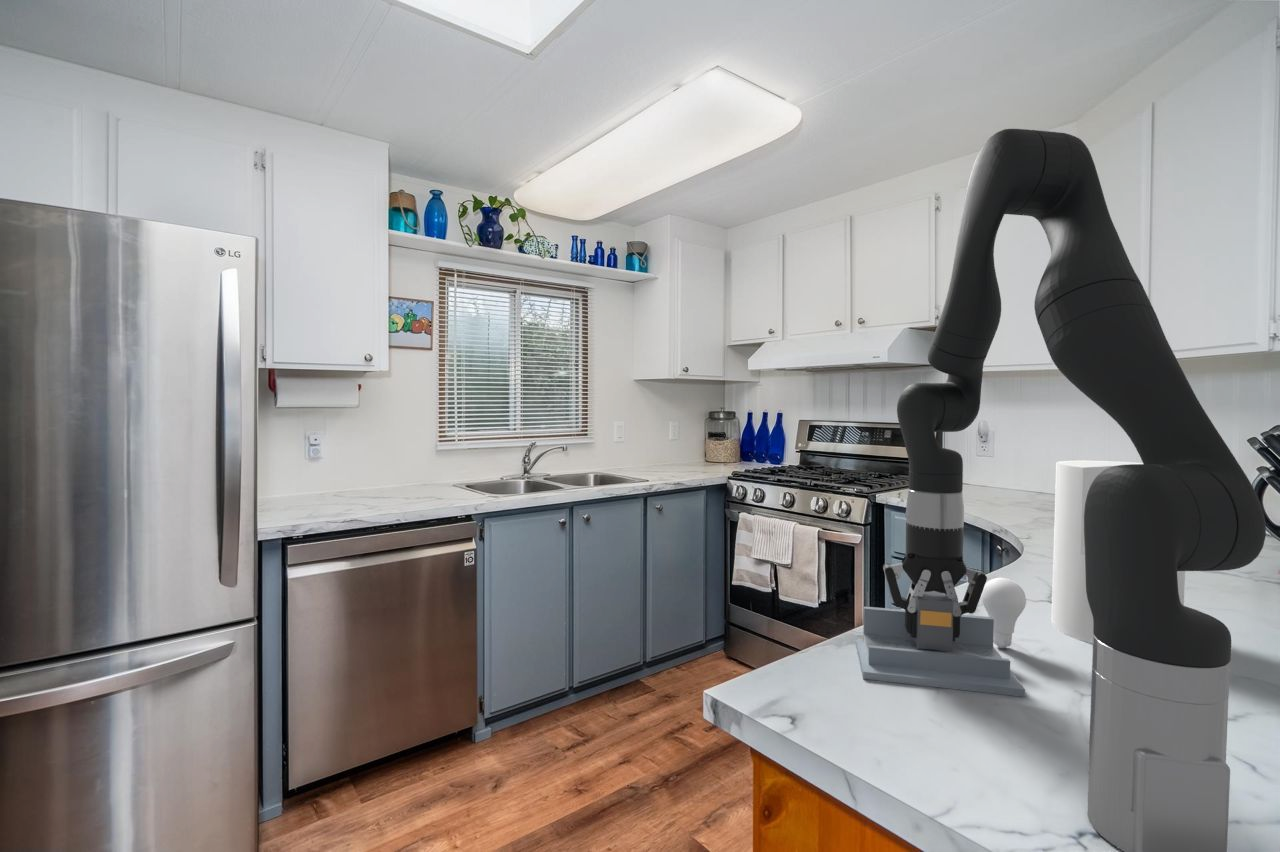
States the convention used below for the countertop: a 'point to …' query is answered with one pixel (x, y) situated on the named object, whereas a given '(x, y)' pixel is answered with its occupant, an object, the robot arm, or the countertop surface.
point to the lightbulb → (1003, 607)
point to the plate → (910, 644)
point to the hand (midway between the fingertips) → (931, 637)
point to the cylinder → (1076, 548)
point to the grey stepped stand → (935, 657)
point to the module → (934, 622)
